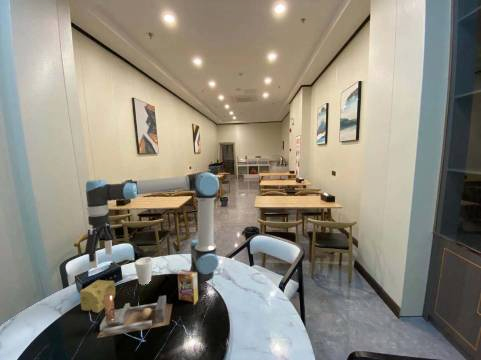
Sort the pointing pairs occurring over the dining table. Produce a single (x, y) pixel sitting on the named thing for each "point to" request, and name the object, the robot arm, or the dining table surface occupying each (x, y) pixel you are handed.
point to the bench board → (136, 320)
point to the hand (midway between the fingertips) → (102, 260)
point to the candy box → (188, 286)
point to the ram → (114, 313)
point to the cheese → (96, 295)
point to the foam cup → (144, 270)
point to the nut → (146, 313)
